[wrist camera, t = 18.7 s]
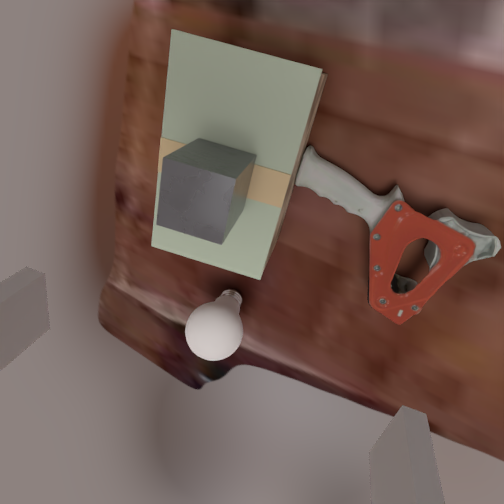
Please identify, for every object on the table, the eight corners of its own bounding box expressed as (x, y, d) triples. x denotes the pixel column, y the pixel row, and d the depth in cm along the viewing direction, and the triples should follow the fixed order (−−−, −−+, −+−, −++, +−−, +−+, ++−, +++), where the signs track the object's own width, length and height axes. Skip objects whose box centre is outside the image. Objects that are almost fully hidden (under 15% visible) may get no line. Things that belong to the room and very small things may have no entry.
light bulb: (201, 283, 48) (163, 336, 38) (240, 265, 45) (210, 317, 35) (228, 320, 49) (198, 379, 40) (267, 305, 46) (245, 365, 37)
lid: (175, 29, 26) (170, 28, 25) (322, 69, 25) (322, 69, 25) (154, 242, 36) (150, 246, 35) (261, 275, 35) (259, 280, 34)
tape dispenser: (294, 146, 38) (327, 304, 45) (283, 154, 34) (321, 328, 40) (483, 101, 31) (489, 295, 38) (501, 103, 27) (504, 323, 33)
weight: (198, 137, 29) (162, 157, 23) (256, 154, 28) (236, 179, 22) (190, 193, 31) (156, 224, 25) (243, 209, 31) (221, 245, 25)
